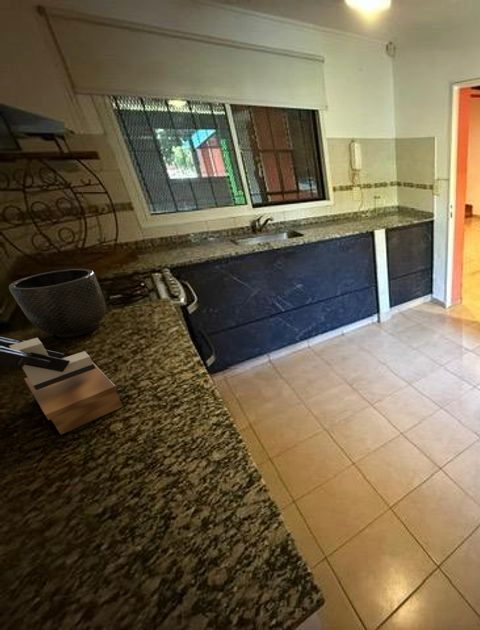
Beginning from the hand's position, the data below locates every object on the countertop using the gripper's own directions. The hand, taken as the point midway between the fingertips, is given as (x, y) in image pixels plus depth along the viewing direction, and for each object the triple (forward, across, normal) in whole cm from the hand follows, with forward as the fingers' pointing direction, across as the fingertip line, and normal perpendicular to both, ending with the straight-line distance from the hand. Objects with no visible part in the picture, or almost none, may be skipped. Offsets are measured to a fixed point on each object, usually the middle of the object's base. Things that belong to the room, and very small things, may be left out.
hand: (62, 362), depth 80 cm
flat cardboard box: (+7, 0, -8) cm, 11 cm away
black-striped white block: (+2, 0, -3) cm, 3 cm away
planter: (+15, -49, -1) cm, 51 cm away
